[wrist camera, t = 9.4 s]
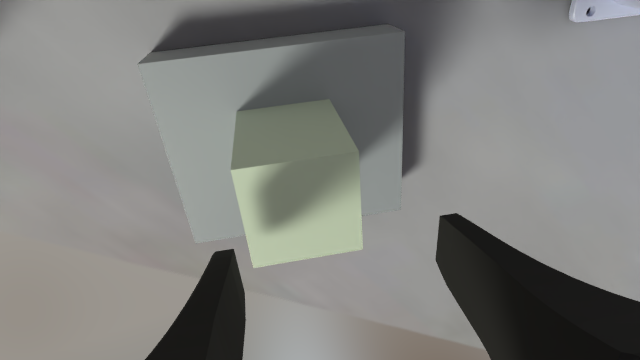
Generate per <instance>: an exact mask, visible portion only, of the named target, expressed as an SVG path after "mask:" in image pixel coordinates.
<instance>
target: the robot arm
mask: <svg viewBox="0 0 640 360" xmlns="http://www.w3.org/2000/svg"><path fill="white" fill-rule="evenodd" d="M589 7H590V11H589V13H588V14H587V15H586V12H587V10H588V8H589ZM635 15H640V0H572V2H571V6H570V11H569V18H570V20H571V21H573V22H587V21H595V20H603V19H611V18H619V17H627V16H635ZM436 262H437V264H438V267H439V269H440V271H441V274H442V276H443V278H444V280H445V282H446V284H447V286H448V288H449V290H450V291H451V293H452V295H453V296H454V298H455V300H456V301H457V303H458V304H459V306H460V308H461V309H462V311H463V312H464V314H465V316H466V317H467V319H468V320H469V322H470V324H471V325H472V327H473V329H474V330H475V332H476V333H477V335H478V337H479V338H480V340H481V342H482V343H483V345H484V347H485V349H486V350H487V352H488V354H489V356H490V358H491V360H640V302H638V301H635V300H632V299H629V298H626V297H623V296H620V295H617V294H614V293H611V292H608V291H606V290H603V289H600V288H598V287H595V286H593V285H590V284H587V283H585V282H582V281H580V280H578V279H575V278H573V277H571V276H568V275H566V274H564V273H562V272H560V271H557V270H555V269H553V268H551V267H549V266H547V265H545V264H543V263H541V262H539V261H537V260H535V259H533V258H531V257H529V256H527V255H526V254H524V253H522V252H520V251H518V250H517V249H515V248H513V247H511V246H510V245H508V244H506V243H505V242H503V241H501V240H500V239H498V238H496V237H495V236H493V235H491V234H490V233H488V232H486V231H485V230H483V229H482V228H480V227H478V226H477V225H475V224H474V223H472V222H470V221H469V220H467V219H466V218H464V217H462V216H461V215H459V214H457V213H455V214H449V215H442V216H440V220H439V230H438V241H437V251H436ZM245 320H246V319H245V292H244V288H243V284H242V280H241V276H240V272H239V268H238V264H237V260H236V256H235V252H234V249H230V250H223V251H217V252H215V253H214V254H213V255H212V257H211V259H210V261H209V263H208V265H207V267H206V269H205V271H204V273H203V275H202V277H201V279H200V281H199V282H198V284H197V286H196V288H195V289H194V291H193V293H192V294H191V296H190V298H189V300H188V301H187V303H186V304H185V306H184V307H183V309H182V311H181V312H180V314H179V315H178V317H177V318H176V320H175V321H174V323H173V324H172V326H171V327H170V328H169V330H168V331H167V333H166V334H165V335H164V337H163V338H162V339H161V341H160V342H159V343H158V344H157V346H156V347H155V348H154V349H153V351H152V352H151V353H150V354H149V355H148V357H147V358H146V359H145V360H242V357H243V346H244V334H245Z"/></svg>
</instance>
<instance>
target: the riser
mask: <svg viewBox="0 0 640 360" xmlns="http://www.w3.org/2000/svg"><path fill="white" fill-rule="evenodd" d="M404 56H405V31H403V30H401V29H399V28H396V27H394V26H392V25H390V24H384V25H375V26H367V27H359V28H350V29H342V30H334V31H325V32H317V33H309V34H300V35H292V36H284V37H275V38H267V39H259V40H250V41H242V42H234V43H225V44H217V45H209V46H200V47H192V48H184V49H175V50H167V51H159V52H150V53H149V54H148V55H147V56H146V57H145V58H144V59H143V60H141V61H140V62H139V63H138V64H137V65H138V68H139V71H140V74H141V77H142V80H143V83H144V86H145V89H146V92H147V96H148V99H149V102H150V105H151V108H152V111H153V114H154V117H155V120H156V123H157V126H158V129H159V133H160V136H161V139H162V142H163V145H164V148H165V151H166V154H167V157H168V160H169V163H170V166H171V169H172V173H173V176H174V179H175V182H176V185H177V188H178V191H179V194H180V197H181V200H182V203H183V206H184V209H185V213H186V216H187V219H188V222H189V225H190V228H191V231H192V234H193V237H194V240H195V243H202V242H208V241H214V240H220V239H226V238H232V237H238V236H244V235H246V234H245V230H244V226H243V221H242V217H241V213H240V209H239V204H238V200H237V196H236V191H235V187H234V183H233V178H232V174H231V161H232V151H233V142H234V132H235V122H236V112H237V111H243V110H251V109H258V108H266V107H273V106H281V105H288V104H296V103H303V102H311V101H318V100H326V99H330V101H331V103H332V105H333V106H334V108H335V110H336V112H337V113H338V115H339V117H340V119H341V120H342V122H343V124H344V126H345V127H346V129H347V131H348V133H349V135H350V136H351V138H352V140H353V142H354V143H355V145H356V147H357V149H358V150H359V164H360V191H361V216H365V215H371V214H377V213H384V212H390V211H396V210H401V185H402V142H403V99H404Z"/></svg>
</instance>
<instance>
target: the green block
mask: <svg viewBox="0 0 640 360" xmlns="http://www.w3.org/2000/svg"><path fill="white" fill-rule="evenodd" d="M231 174H232V178H233V183H234V187H235V191H236V196H237V200H238V204H239V209H240V213H241V217H242V221H243V226H244V230H245V234H246V239H247V243H248V247H249V251H250V256H251V260H252V264H253V268H257V267H263V266H268V265H274V264H280V263H286V262H292V261H298V260H303V259H309V258H315V257H321V256H327V255H333V254H339V253H344V252H350V251H356V250H362V249H363V244H362V217H361V191H360V164H359V150H358V149H357V147H356V145H355V143H354V142H353V140H352V138H351V136H350V135H349V133H348V131H347V129H346V127H345V126H344V124H343V122H342V120H341V119H340V117H339V115H338V113H337V112H336V110H335V108H334V106H333V105H332V103H331V101H330V99H326V100H318V101H311V102H303V103H296V104H288V105H281V106H273V107H266V108H258V109H251V110H243V111H237V112H236V122H235V132H234V142H233V151H232V161H231Z"/></svg>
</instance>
